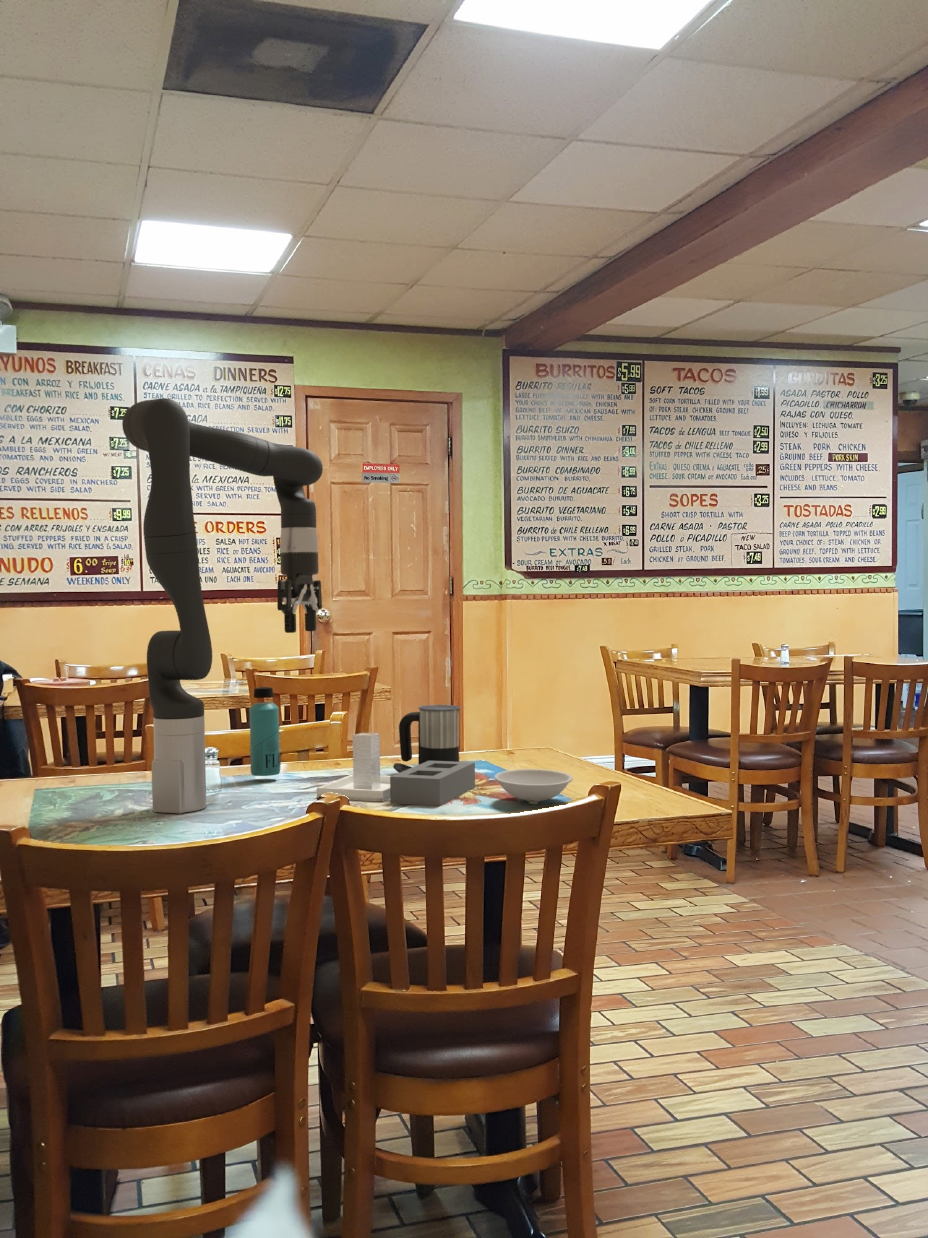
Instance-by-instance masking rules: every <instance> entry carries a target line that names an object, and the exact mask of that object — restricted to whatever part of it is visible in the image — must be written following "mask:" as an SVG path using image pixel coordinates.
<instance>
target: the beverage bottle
mask: <svg viewBox="0 0 928 1238" xmlns="http://www.w3.org/2000/svg"><path fill="white" fill-rule="evenodd" d="M253 698H255V699H267V698H274V690H273V687H269V686H261V687H260V686H259V687H255V688H254V689H253ZM279 709H280V707H279V706H278V705H276V703H274V702H256V703H253V704H252V705H251V706H250V707H249V709H248V710H249V735H250V736H249V737H250V738H249V739H250V742H249V756H250V759H249V762H250V774H251V776H255V777H269V776H276V775H277V776H278V775H279V774H280V772H281V764H282V762H281V745H280V744H281V743H280V735H281V733H280V728H281V727H280V726H281V725H280V718H279V717H280V715H279V711H280V710H279Z"/></svg>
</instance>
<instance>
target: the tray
mask: <svg viewBox="0 0 928 1238" xmlns="http://www.w3.org/2000/svg"><path fill="white" fill-rule="evenodd" d="M391 776H392V775H380V788H379V789H377V790H366V789H354V782H353V773H352V774H350V775H347V776H344V777H341V778H338V779H336V780H334V781H330V782H328V783H325V784H323V785H320V786H318V787H316V799H320V798H319V797H321V795H322V794H324V793H327V792H333V793H338V794H341V795H345V796H347V797H348V798H349V799H350V800H349V801H364V802H365V801H366V802H385V801H387V800H390V777H391Z"/></svg>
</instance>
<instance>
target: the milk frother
mask: <svg viewBox="0 0 928 1238" xmlns="http://www.w3.org/2000/svg"><path fill="white" fill-rule="evenodd" d="M418 710H419V711H412V712H409V713H407V714H405V715H404V716H402V718H401V719H400V721H399V724H398V734H399V735H398V736H399V748H400V757H401V760H402V762H409V761H411V760H412V758H413V751H412V748H413V747H412V732H411V729H412V728H411V727H412V723H413V722H418V724H417V725H418V726H417V728H418V729H417V730H418V731H417V732H418V737H417V738H418V747H417V748H418V764H417V765H419V764H422V763H424V762H427V761H453V762H460V710H461V706H459V705H452V704H451V705H450V704H427V705H421V706H418ZM402 762H396V763H394V764H393V766H392V767H393V769H394V770H395V771H396V772H397V773H400V772H403V771H405V770H407V769H410V768H412V767H413V766H410V765H407V764H403V763H402Z"/></svg>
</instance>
